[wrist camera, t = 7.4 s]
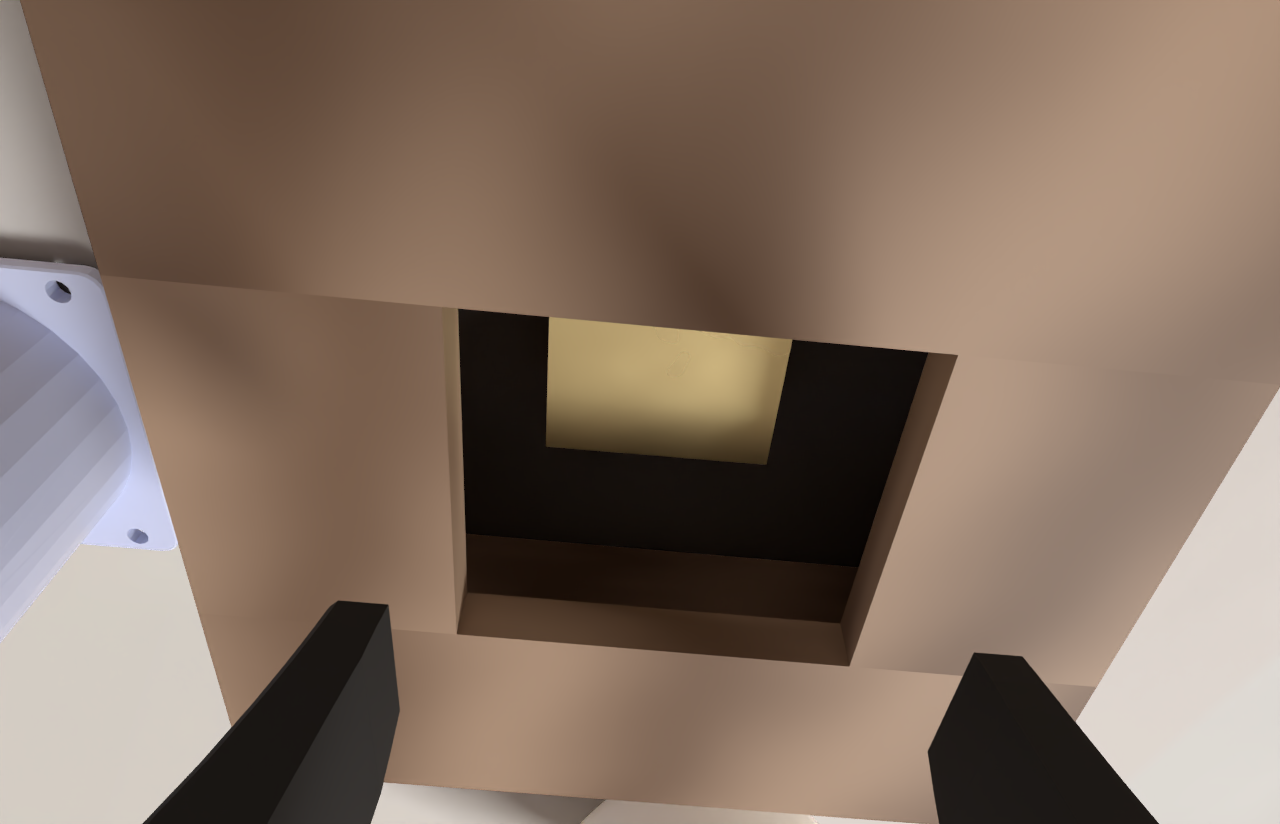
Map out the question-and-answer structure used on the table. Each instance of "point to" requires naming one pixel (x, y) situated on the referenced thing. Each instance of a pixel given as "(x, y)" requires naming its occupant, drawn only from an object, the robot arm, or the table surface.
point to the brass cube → (663, 390)
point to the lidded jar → (685, 815)
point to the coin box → (691, 300)
